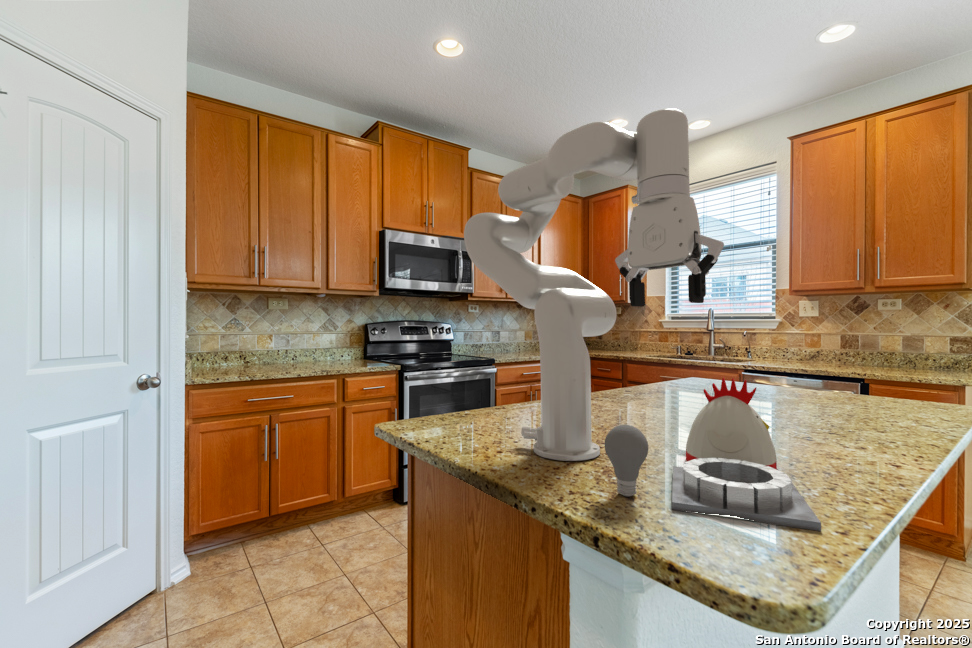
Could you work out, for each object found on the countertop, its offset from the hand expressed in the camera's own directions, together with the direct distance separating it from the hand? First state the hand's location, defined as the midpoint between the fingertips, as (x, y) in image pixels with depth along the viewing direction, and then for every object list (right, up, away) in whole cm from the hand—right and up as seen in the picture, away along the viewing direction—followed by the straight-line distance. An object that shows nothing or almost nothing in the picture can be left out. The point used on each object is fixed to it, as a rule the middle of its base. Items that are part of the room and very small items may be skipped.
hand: (665, 304), depth 68 cm
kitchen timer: (+15, -28, +9) cm, 33 cm away
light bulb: (-8, -28, -5) cm, 29 cm away
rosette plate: (+7, -27, -6) cm, 29 cm away
